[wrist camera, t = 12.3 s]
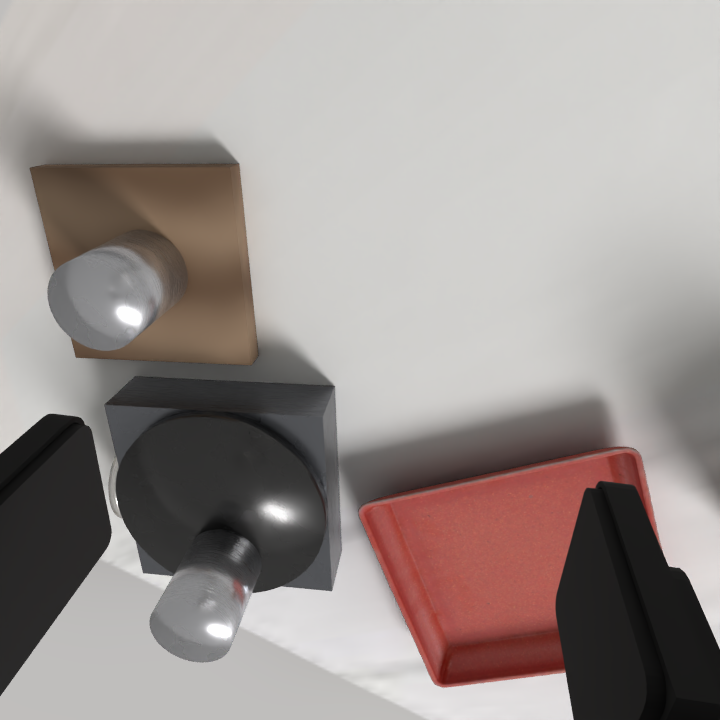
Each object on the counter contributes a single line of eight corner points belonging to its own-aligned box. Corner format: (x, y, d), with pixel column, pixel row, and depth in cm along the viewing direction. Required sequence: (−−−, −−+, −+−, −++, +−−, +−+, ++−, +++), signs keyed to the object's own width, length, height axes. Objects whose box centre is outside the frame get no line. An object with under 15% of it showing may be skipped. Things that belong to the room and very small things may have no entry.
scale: (128, 371, 42) (83, 412, 37) (336, 381, 40) (319, 425, 35) (160, 528, 48) (125, 582, 42) (343, 544, 46) (329, 602, 40)
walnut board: (45, 164, 35) (29, 167, 34) (239, 163, 34) (230, 167, 32) (88, 348, 40) (75, 357, 39) (258, 355, 39) (251, 365, 38)
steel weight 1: (101, 228, 35) (36, 257, 30) (181, 230, 34) (130, 260, 29) (117, 307, 37) (60, 348, 32) (193, 311, 36) (148, 353, 31)
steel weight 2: (185, 526, 39) (142, 596, 34) (257, 532, 39) (226, 605, 33) (195, 582, 41) (157, 657, 36) (264, 589, 41) (236, 666, 35)
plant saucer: (625, 418, 38) (640, 446, 35) (671, 621, 44) (687, 660, 41) (360, 477, 42) (353, 507, 39) (436, 652, 49) (435, 690, 46)
